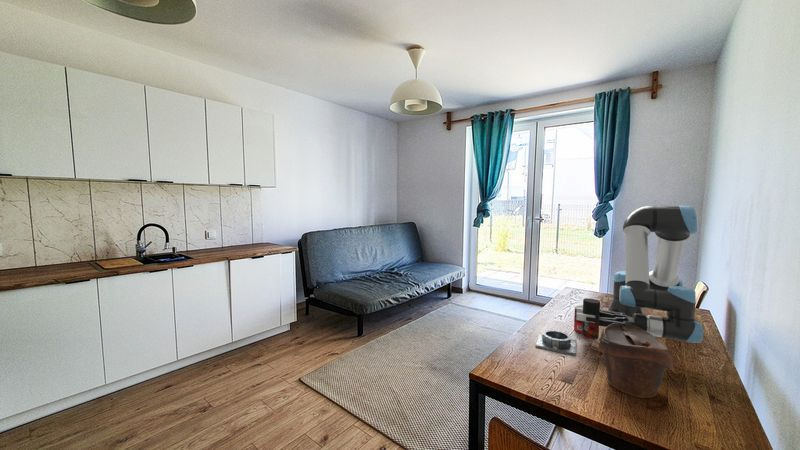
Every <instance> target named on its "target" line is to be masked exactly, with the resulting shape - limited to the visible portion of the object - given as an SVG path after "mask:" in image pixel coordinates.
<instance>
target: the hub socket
mask: <svg viewBox="0 0 800 450" xmlns="http://www.w3.org/2000/svg"><path fill="white" fill-rule="evenodd" d="M576 346H577V339H574V338H572V336H571V335H569V334H568V333H566V332H563V331H561V330H556V329H546V330H543V331H542V332H539V334H538V336H537V340H536V343H535V348H537V349H542V350H547V351H552V352H556V353H560V354H565V355H566V354H567V355H571V356H576V351H577V350H576V349H577V347H576Z"/></svg>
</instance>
